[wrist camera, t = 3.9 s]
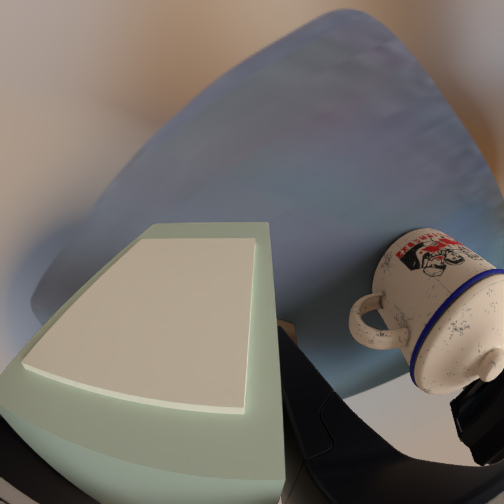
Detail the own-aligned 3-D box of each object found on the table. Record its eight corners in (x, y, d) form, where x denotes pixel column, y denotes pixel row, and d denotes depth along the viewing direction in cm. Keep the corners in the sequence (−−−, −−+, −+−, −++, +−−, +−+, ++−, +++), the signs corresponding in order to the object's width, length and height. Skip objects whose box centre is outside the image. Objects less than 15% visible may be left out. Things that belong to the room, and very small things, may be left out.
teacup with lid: (463, 221, 18) (562, 284, 7) (444, 314, 21) (507, 397, 10) (334, 227, 19) (410, 331, 8) (329, 333, 22) (362, 453, 11)
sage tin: (268, 218, 9) (286, 475, 2) (265, 359, 11) (265, 539, 4) (153, 220, 9) (-19, 388, 2) (177, 355, 12) (125, 518, 4)
